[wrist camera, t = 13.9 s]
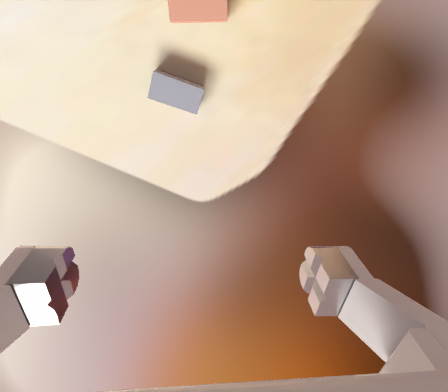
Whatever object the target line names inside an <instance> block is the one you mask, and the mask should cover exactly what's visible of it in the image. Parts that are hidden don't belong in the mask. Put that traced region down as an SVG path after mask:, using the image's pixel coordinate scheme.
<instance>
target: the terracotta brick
mask: <svg viewBox="0 0 448 392" xmlns="http://www.w3.org/2000/svg"><path fill="white" fill-rule="evenodd" d="M168 6H169V16H170V22H172V23H196V22H226V21H227V0H168Z"/></svg>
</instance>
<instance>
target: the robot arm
mask: <svg viewBox="0 0 448 392" xmlns="http://www.w3.org/2000/svg"><path fill="white" fill-rule="evenodd" d="M304 256H305V258H306V260H305V261H304V262H303V263H302V264H301V267H300V282H301V285H302V287H303V290H305V291H306V292H307V293H308V294H310V295H309V298H308V301H309V304H310V306H311V308H312V310H313V312H314V315H315V316H338V317H339V319H341V320H342V321H343V322H344V323H345V324H346V325H347V326H348V327H349V328H350V329H351V330H352V331H353V332H354V333H355V334H356V335H357V336H358V337H359V338H361V339H362V340H363V341H364V342H365V343H366V344H367V345H368V346H369V347H370V348H371V349H372V350H373V351H374V352H375V353H376V354H378V356H379V357H381V358H382V359H383V360H384V361H385V362H386V363H385V365H384V366H383V368H382V369H381V371H380V372H379V374H365V375H364V374H363V375H348V376H332V377H318V378H317V377H316V378H300V379H284V380H269V381H253V382H237V383H221V384H207V385H190V386H175V387H160V388H144V389H128V390H112V391H97V392H448V321H446V320H445V319H443V318H441V317H440V316H438V315H436V314H435V313H433V312H431V311H430V310H428V309H426V308H425V307H423V306H422V305H420V304H418V303H417V302H415V301H413V300H412V299H410V298H408V297H407V296H405V295H404V294H402V293H400V292H399V291H397V290H395V289H394V288H392V287H390V286H389V285H387V284H386V283H384V282H382V281H381V280H379V279H374V278H373V277H372V275H371V274H370V273H369V272H368V270H367V269H366V268H365V266H364V265H363V264H362V262H361V261H360V260H359V258H358V257H357V256H356V254H355V253H354V252H353V250H352V249H351V248H350V247H348V246H335V247H308V248H307V249H306V251H305V254H304ZM74 257H75V254H74V251H73V248H71V247H68V246H67V247H66V246H20V247H17V248H16V249H15V250H14V251H13V252H12V253H11V254H10V256H9V257H8V258H7V259H6V260H5V261H4V262H3V264H2V265H1V266H0V353H2V352H3V351H4V350H5V349H6V348H7V347H8V346H10V345H11V344H12V343H13V342H14V341H15V340H16V339H17V338H19V337H20V336H21V335H22V334H23V333H24V332H25V331H27V330H28V329H29V326H42V325H59V324H60V322H61V320H62V318H63V316H64V314H65V312H66V310H67V308H68V303H67V299H68V298H69V297H71V296H72V295H73V294H74V293H75V291H76V288H77V286H78V281H79V269H78V265H76V264H75V263H74V262H72V260H73V259H74Z"/></svg>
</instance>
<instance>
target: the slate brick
mask: <svg viewBox="0 0 448 392" xmlns="http://www.w3.org/2000/svg"><path fill="white" fill-rule="evenodd" d="M203 93H204V86H201V85H198V84H195V83H193V82H190V81H187V80H185V79H182V78H179V77H176V76H174V75H171V74H168V73H166V72H163V71H160V70H157V69H156V70H155V71H153V75H152V80H151V85H150V89H149V94H148V98H149V99H152V100H155V101H158V102H161V103H164V104H167V105H170V106H173V107H176V108H179V109H182V110H185V111H188V112H191V113H194V114H197V112H198V109H199V106H200V103H201V99H202V96H203Z"/></svg>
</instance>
